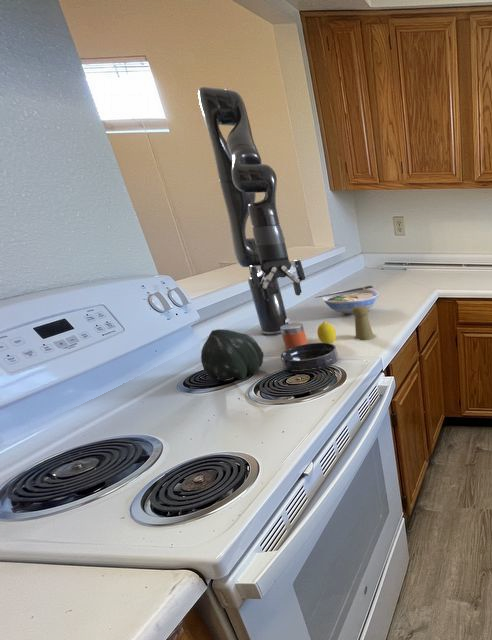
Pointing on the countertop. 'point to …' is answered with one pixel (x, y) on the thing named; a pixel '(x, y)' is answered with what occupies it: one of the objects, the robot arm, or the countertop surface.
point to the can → (293, 335)
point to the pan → (309, 357)
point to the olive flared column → (362, 323)
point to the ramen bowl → (351, 299)
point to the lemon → (326, 333)
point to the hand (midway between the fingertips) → (283, 297)
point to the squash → (230, 355)
